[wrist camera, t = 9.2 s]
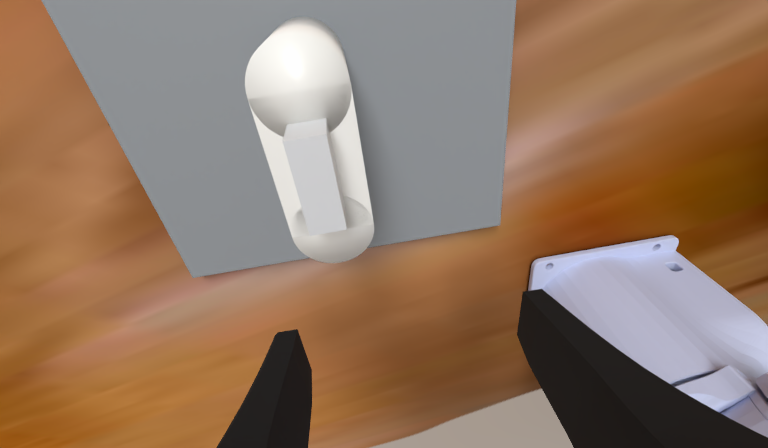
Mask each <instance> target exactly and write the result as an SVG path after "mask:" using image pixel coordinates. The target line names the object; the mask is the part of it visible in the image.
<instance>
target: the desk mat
mask: <svg viewBox="0 0 768 448" xmlns="http://www.w3.org/2000/svg"><path fill="white" fill-rule="evenodd" d="M42 2H43V4H44V6H45V7H46V9H47V11H48V13H49V15H50V17H51V18H52V20H53V22H54V24H55V26H56V28H57V29H58V31H59V33H60V35H61V37H62V39H63V40H64V42H65V44H66V46H67V48H68V50H69V51H70V53H71V55H72V57H73V59H74V61H75V62H76V64H77V66H78V68H79V70H80V72H81V73H82V75H83V77H84V79H85V81H86V83H87V84H88V86H89V88H90V90H91V92H92V94H93V95H94V97H95V99H96V101H97V103H98V105H99V107H100V108H101V110H102V112H103V114H104V116H105V118H106V119H107V121H108V123H109V125H110V127H111V129H112V130H113V132H114V134H115V136H116V138H117V140H118V141H119V143H120V145H121V147H122V149H123V151H124V152H125V154H126V156H127V158H128V160H129V162H130V163H131V165H132V167H133V169H134V171H135V173H136V174H137V176H138V178H139V180H140V182H141V184H142V185H143V187H144V189H145V191H146V193H147V195H148V196H149V198H150V200H151V202H152V204H153V206H154V207H155V209H156V211H157V213H158V215H159V217H160V219H161V220H162V222H163V224H164V226H165V228H166V230H167V231H168V233H169V235H170V237H171V239H172V241H173V242H174V244H175V246H176V248H177V250H178V252H179V253H180V255H181V257H182V259H183V261H184V263H185V264H186V266H187V268H188V270H189V272H190V274H191V275H192V277H193V278H195V277H201V276H207V275H212V274H218V273H224V272H230V271H236V270H242V269H247V268H253V267H259V266H265V265H271V264H277V263H282V262H288V261H294V260H300V259H306V258H310V257H308V256H306V255H305V254H303V253H302V252H301V251H300V250H299V249H298V248H297V246H296V245H295V243H294V241H293V238H292V235H291V232H290V229H289V226H288V223H287V220H286V217H285V214H284V211H283V207H282V204H281V201H280V198H279V195H278V192H277V189H276V186H275V183H274V180H273V176H272V173H271V170H270V167H269V164H268V161H267V158H266V155H265V152H264V149H263V145H262V142H261V139H260V136H259V133H258V130H257V127H256V124H255V121H254V118H253V114H252V111H251V108H250V105H249V102H248V99H247V95H246V90H245V74H246V69H247V66H248V63H249V61H250V59H251V57H252V55H253V54H254V52H255V51H256V50H257V49H258V47H259V46H260V45H261V44H262V43H263V42H264V41H265V40H266V39H267V38H268V37H269V36H270V35H271V34H272V33H273V32H274V31H275V30H276V29H277V28H278V27H279V26H280V25H281V24H282V23H283V22H285V21H287V20H289V19H291V18H295V17H311V18H315V19H317V20H320V21H322V22H323V23H325V24H326V25H328V26H329V27H330V28H331V29H332V30H333V31H334V32H335V34H336V35H337V37H338V38H339V40H340V42H341V44H342V47H343V51H344V55H345V60H346V64H347V69H348V73H349V77H350V82H351V88H352V94H353V100H354V106H355V112H356V118H357V124H358V130H359V136H360V142H361V148H362V154H363V161H364V167H365V173H366V179H367V185H368V191H369V197H370V203H371V209H372V215H373V221H374V235H373V238H372V241H371V243H370V244H369V246H368V247H367V248H370V247H376V246H382V245H387V244H393V243H399V242H405V241H411V240H417V239H422V238H428V237H434V236H440V235H446V234H452V233H457V232H463V231H469V230H475V229H481V228H487V227H492V226H498V225H500V219H501V205H502V191H503V177H504V163H505V149H506V136H507V122H508V108H509V94H510V80H511V66H512V52H513V38H514V24H515V10H516V0H42Z"/></svg>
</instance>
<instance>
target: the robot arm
mask: <svg viewBox="0 0 768 448" xmlns="http://www.w3.org/2000/svg"><path fill="white" fill-rule="evenodd" d="M678 243H679V240H678V239H677V238H676V237H675V236H673V235H669V236H663V237H658V238H652V239H646V240H640V241H635V242H629V243H623V244H618V245H612V246H606V247H601V248H595V249H589V250H584V251H578V252H572V253H567V254H561V255H555V256H550V257H544V258H539V259H536V260H535V261H534V262H533V263H532V266H531V273H530V280H529V287H528V291H525V292H523V296H522V303H521V310H520V317H519V325H518V332H517V336H518V338H519V341H520V343H521V346H522V348H523V351H524V353H525V356H526V358H527V361H528V363H529V365H530V367H531V369H532V371H533V373H534V375H535V376H536V378H537V380H538V382H539V384H540V386H541V388H542V389H543V391H544V393H545V395H546V397H547V398H548V400H549V402H550V404H551V406H552V408H553V409H554V411H555V413H556V415H557V417H558V418H559V420H560V422H561V424H562V426H563V428H564V429H565V431H566V433H567V435H568V437H569V439H570V441H571V443H572V445H573V447H574V448H768V326H767V325H766V324H765V323H764V322H763V321H762V319H761V318H760V317H759V316H757V315H756V314H755V313H754V312H753V311H752V310H750V309H749V308H748V307H746V306H745V305H744V304H743V303H741V302H740V301H739V300H738V299H736V298H735V297H734V296H732V295H731V294H730V293H729V292H727V291H726V290H725V289H724V288H722V287H721V286H720V285H718V284H717V283H716V282H715V281H713V280H712V279H711V278H710V277H708V276H707V275H706V274H704V273H703V272H702V271H701V270H699V269H698V268H697V267H696V266H694V265H693V264H692V263H691V262H689V261H688V260H687V259H685V258H684V257H683V256H682V255H680V254H679V253H678V252H677V251H676V248H677V246H678ZM549 263H550V264H549ZM547 264H548V265H547ZM311 408H312V370H311V367H310V364H309V361H308V358H307V356H306V353H305V350H304V347H303V344H302V341H301V339H300V336H299V333H298V330H297V329H296V330H290V331H284V332H278V333H277V334H276V335H275V337H274V339H273V342H272V344H271V346H270V349H269V351H268V353H267V355H266V357H265V360H264V362H263V364H262V366H261V368H260V370H259V372H258V374H257V376H256V378H255V380H254V382H253V384H252V386H251V388H250V390H249V392H248V394H247V396H246V398H245V400H244V401H243V403H242V405H241V407H240V409H239V410H238V412H237V414H236V416H235V417H234V419H233V421H232V423H231V424H230V426H229V428H228V430H227V431H226V433H225V435H224V436H223V438H222V439H221V441H220V443H219V444H218V446H217V448H308V441H309V430H310V419H311Z"/></svg>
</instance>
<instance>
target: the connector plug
mask: <svg viewBox="0 0 768 448" xmlns="http://www.w3.org/2000/svg"><path fill="white" fill-rule="evenodd" d="M245 90H246V95H247V99H248V102H249V105H250V108H251V111H252V114H253V118H254V121H255V124H256V127H257V130H258V133H259V136H260V139H261V142H262V145H263V149H264V152H265V155H266V158H267V161H268V164H269V167H270V170H271V173H272V176H273V180H274V183H275V186H276V189H277V192H278V195H279V198H280V201H281V204H282V207H283V211H284V214H285V217H286V220H287V223H288V226H289V229H290V232H291V235H292V238H293V241H294V243H295V245H296V246H297V248H298V249H299V250H300V251H301V252H302V253H303V254H305V255H306V256H308V257H310V258H311V259H314V260H316V261H320V262H325V263H340V262H345V261H348V260H351V259H353V258H355V257H357V256H358V255H360V254H361V253H362V252H364V251H365V250H366V248H367V247H368V246H369V244H370V243H371V241H372V238H373V235H374V221H373V215H372V209H371V203H370V197H369V191H368V185H367V179H366V173H365V167H364V161H363V154H362V148H361V142H360V136H359V130H358V124H357V118H356V112H355V106H354V100H353V94H352V88H351V82H350V77H349V73H348V69H347V64H346V60H345V55H344V51H343V47H342V44H341V42H340V40H339V38H338V37H337V35H336V34H335V32H334V31H333V30H332V29H331V28H330V27H329V26H328V25H326V24H325V23H323V22H322V21H320V20H317V19H315V18H311V17H295V18H291V19H289V20H287V21H285V22H283V23H282V24H281V25H280V26H279V27H278V28H277V29H276V30H275V31H274V32H273V33H272V34H271V35H270V36H269V37H268V38H267V39H266V40H265V41H264V42H263V43H262V44H261V45H260V46H259V47H258V49H257V50H256V51H255V52H254V54H253V55H252V57H251V59H250V61H249V63H248V66H247V69H246V74H245Z"/></svg>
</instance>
